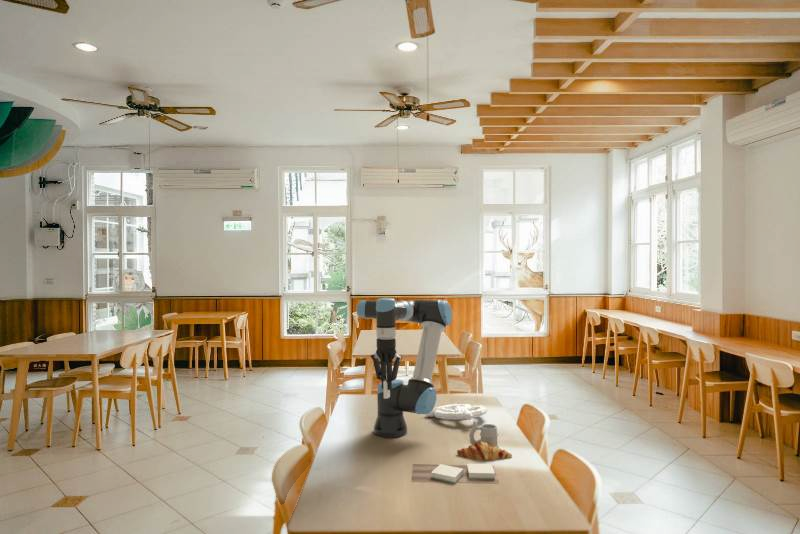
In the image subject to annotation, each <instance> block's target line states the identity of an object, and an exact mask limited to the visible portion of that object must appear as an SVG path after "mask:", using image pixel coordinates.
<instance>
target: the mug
mask: <svg viewBox="0 0 800 534" xmlns="http://www.w3.org/2000/svg"><path fill="white" fill-rule="evenodd" d="M472 422H473V424H472V427H471V430H470V433H468V434H469V444H470V445H474V444H475V443H476V442H485V443H487V444H488V445H489V446H490V445H492V446H494V445H496V446H497V447H499V448H500V446H499V444H498V436H499V434H498V428H497V425H495V424H491V423H484V424H482V425H481V426H478V423H477V422H476V420H473V421H472ZM478 430H479V431H480V432H479V436H480V438H479V439H475V433H476V432H477V431H478Z"/></svg>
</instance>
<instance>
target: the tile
mask: <svg viewBox="0 0 800 534" xmlns="http://www.w3.org/2000/svg"><path fill="white" fill-rule="evenodd" d="M438 465H439V466H438V467H437V468H435V469H434V470H433V471H432V472H431V478H434V479H439V480H443V481H448V482H452V484H457V483H456V482H457V481H458V480H459V479H460V478H461V477H462V476H463V474H464V469H462V468H457V467H452V466H447V465H448V464H442V463H440V464H438Z"/></svg>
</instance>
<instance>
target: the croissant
mask: <svg viewBox="0 0 800 534" xmlns="http://www.w3.org/2000/svg"><path fill="white" fill-rule="evenodd" d="M456 452H457V453H456V454H458V456H460V457H464V458H466V459H472V460H476V461H485V462H487V461H494V460H503V459H510V458H512V457H513V455H512V453H510V452H508V451H507V450H506V449H502V448H500V446H499V447H497V446H496V445H494V446H492V445H490V446H489V445H488V444H487V443H485V442H476V443H475V444H474V445H472V444H470V445H469V446H468V447H463V448H461V449H457V450H456Z"/></svg>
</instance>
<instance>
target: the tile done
mask: <svg viewBox="0 0 800 534" xmlns="http://www.w3.org/2000/svg"><path fill="white" fill-rule="evenodd" d="M466 465H467V471H468V476H469V479H495V472H496V471H495V472H494V469H495V468H494V469H493V466H494V465H493V464H492V463H467V464H466Z"/></svg>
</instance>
